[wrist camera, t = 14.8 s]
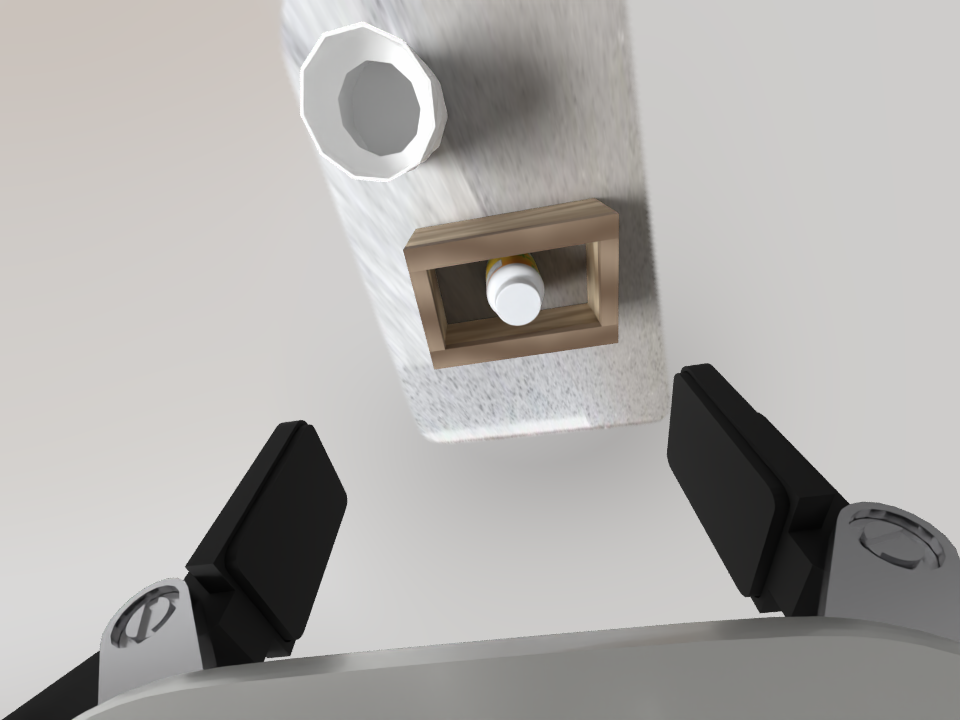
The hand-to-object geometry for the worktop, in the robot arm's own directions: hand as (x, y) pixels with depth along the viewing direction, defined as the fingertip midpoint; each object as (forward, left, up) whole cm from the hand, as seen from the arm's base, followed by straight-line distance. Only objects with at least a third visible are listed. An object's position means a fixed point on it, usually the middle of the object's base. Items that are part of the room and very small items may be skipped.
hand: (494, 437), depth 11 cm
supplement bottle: (+7, +2, -34) cm, 35 cm away
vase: (-9, -6, -34) cm, 36 cm away
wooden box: (+7, +2, -34) cm, 35 cm away
